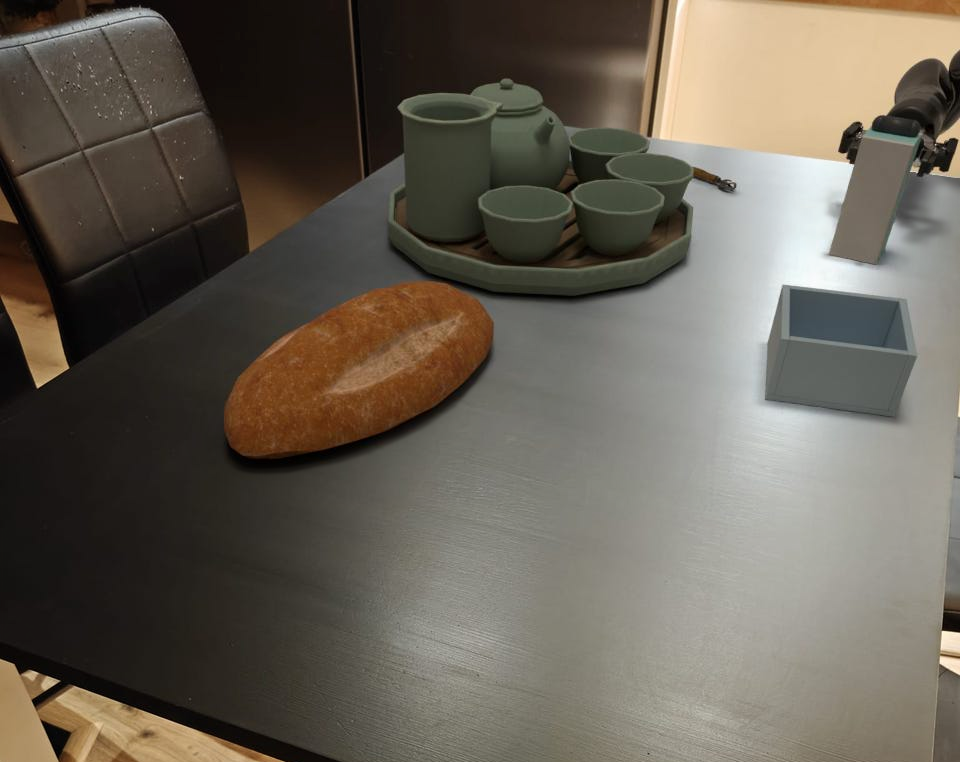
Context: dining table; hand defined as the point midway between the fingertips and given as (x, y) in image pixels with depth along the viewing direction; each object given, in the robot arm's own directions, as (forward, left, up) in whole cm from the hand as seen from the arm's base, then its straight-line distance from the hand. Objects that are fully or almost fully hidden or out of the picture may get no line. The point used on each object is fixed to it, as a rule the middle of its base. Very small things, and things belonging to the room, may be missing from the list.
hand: (887, 162), depth 119 cm
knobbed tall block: (+1, +6, -9) cm, 11 cm away
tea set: (+42, +12, -9) cm, 45 cm away
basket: (+6, +41, -9) cm, 42 cm away
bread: (+51, +56, -9) cm, 77 cm away
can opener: (+21, -14, -9) cm, 27 cm away
